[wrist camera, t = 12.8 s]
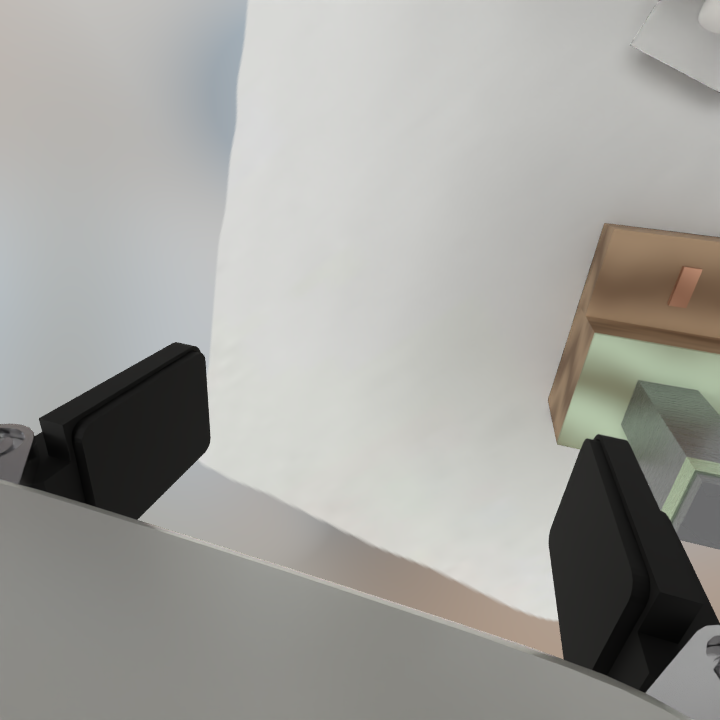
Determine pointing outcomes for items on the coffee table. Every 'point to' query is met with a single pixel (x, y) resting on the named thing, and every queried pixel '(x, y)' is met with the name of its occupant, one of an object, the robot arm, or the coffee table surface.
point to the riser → (638, 329)
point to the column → (678, 456)
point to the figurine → (684, 38)
